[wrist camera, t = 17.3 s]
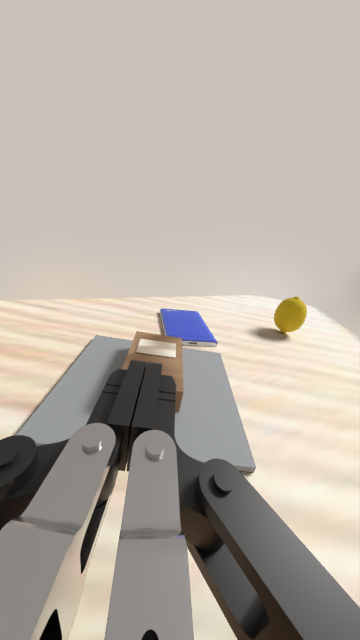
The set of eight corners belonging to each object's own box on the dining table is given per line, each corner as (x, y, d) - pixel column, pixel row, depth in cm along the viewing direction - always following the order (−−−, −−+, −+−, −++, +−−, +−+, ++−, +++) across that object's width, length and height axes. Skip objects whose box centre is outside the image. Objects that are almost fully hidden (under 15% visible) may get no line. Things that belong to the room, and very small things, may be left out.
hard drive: (160, 308, 42) (167, 338, 31) (198, 311, 44) (218, 341, 33) (159, 315, 43) (166, 347, 32) (197, 318, 45) (215, 349, 34)
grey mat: (13, 445, 15) (12, 440, 15) (96, 338, 30) (96, 335, 29) (253, 472, 16) (255, 467, 16) (218, 356, 31) (219, 353, 31)
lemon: (283, 327, 47) (297, 293, 44) (302, 339, 42) (319, 302, 39) (263, 326, 45) (276, 291, 42) (281, 339, 40) (297, 301, 37)
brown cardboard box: (115, 381, 18) (136, 330, 27) (114, 404, 19) (135, 347, 28) (183, 390, 18) (182, 336, 28) (179, 412, 19) (178, 353, 29)
